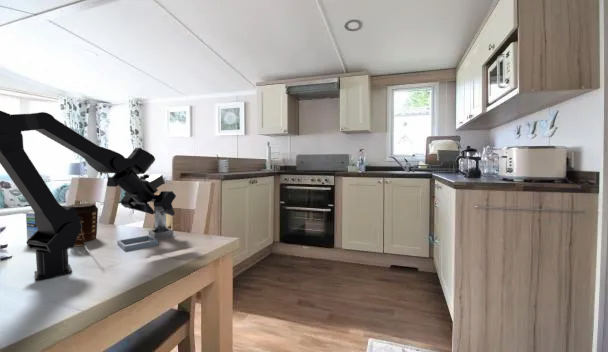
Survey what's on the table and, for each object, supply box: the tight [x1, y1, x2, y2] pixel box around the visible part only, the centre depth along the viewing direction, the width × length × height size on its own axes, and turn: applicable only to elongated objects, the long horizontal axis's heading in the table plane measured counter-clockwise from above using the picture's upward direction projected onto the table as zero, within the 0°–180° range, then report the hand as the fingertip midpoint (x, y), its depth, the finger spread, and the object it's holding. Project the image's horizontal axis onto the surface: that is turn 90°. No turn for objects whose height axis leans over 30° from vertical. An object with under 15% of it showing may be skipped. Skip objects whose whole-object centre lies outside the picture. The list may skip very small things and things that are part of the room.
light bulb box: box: [25, 210, 38, 241], centre depth 94 cm, size 11×7×11 cm, turn 76°
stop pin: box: [153, 193, 168, 233], centre depth 96 cm, size 5×5×14 cm
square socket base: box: [148, 227, 181, 241], centre depth 98 cm, size 9×8×3 cm
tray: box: [116, 234, 159, 252], centre depth 87 cm, size 9×9×2 cm
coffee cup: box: [68, 202, 99, 247], centre depth 93 cm, size 9×8×13 cm
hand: (163, 213), depth 98 cm, fingers open, 9 cm apart
